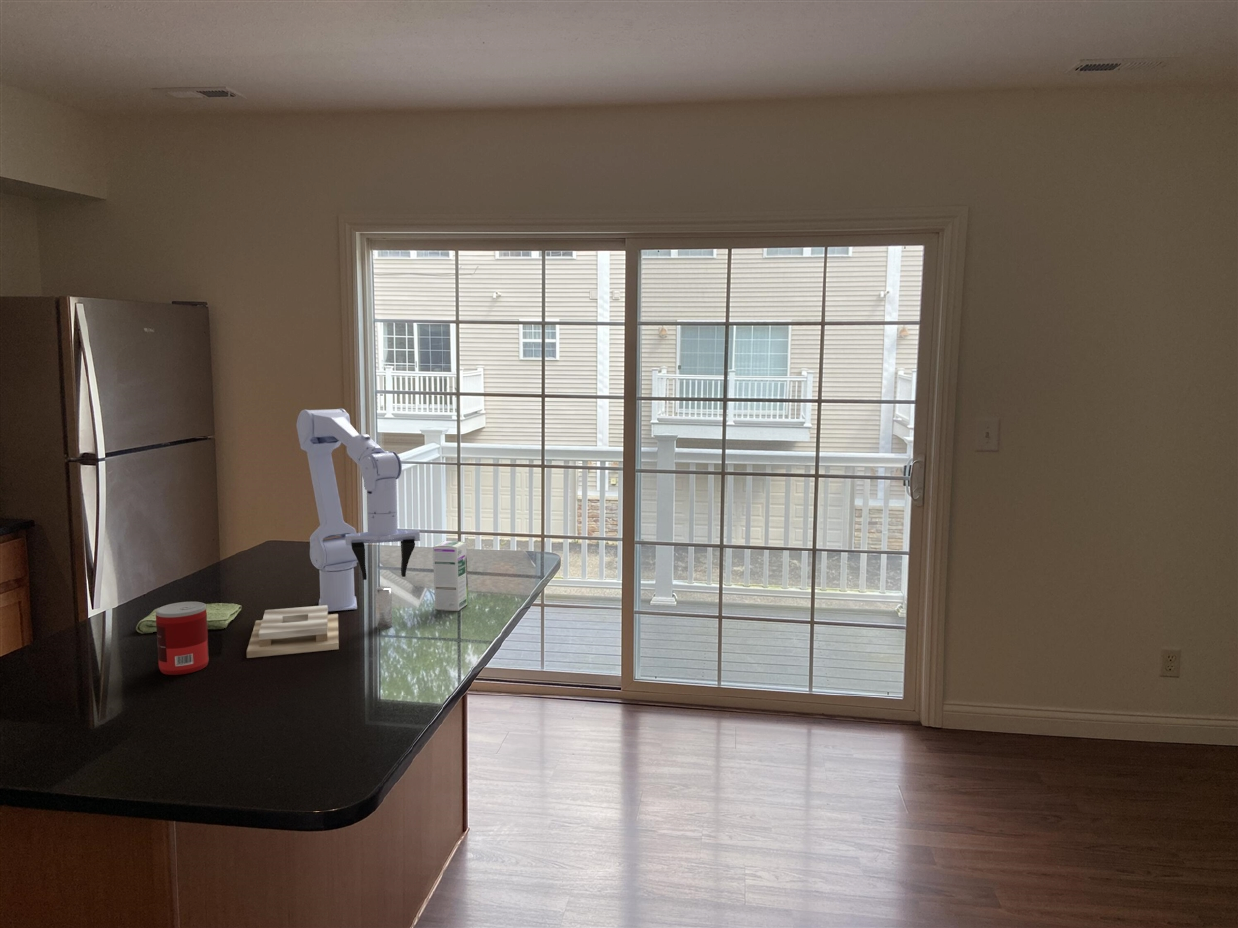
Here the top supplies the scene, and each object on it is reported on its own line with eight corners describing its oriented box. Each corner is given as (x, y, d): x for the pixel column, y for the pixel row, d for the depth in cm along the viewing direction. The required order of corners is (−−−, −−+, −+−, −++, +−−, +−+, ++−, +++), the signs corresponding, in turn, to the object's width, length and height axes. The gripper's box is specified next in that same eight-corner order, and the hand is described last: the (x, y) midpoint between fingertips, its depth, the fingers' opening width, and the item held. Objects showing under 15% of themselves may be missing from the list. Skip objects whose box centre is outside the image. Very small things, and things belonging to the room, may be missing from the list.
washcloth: (229, 631, 171) (228, 616, 171) (134, 637, 167) (133, 621, 167) (243, 613, 184) (242, 598, 183) (155, 618, 180) (154, 603, 180)
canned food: (218, 662, 152) (216, 603, 150) (182, 678, 144) (179, 615, 143) (185, 657, 154) (182, 599, 153) (148, 672, 147) (145, 611, 145)
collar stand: (256, 626, 173) (255, 608, 173) (338, 619, 178) (337, 601, 178) (246, 657, 154) (245, 637, 154) (338, 648, 159) (338, 629, 159)
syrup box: (458, 611, 184) (457, 546, 183) (433, 609, 185) (432, 545, 184) (468, 604, 190) (467, 541, 188) (444, 602, 191) (442, 540, 189)
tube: (375, 624, 174) (374, 587, 174) (391, 623, 175) (390, 585, 175) (376, 629, 171) (375, 591, 171) (392, 627, 172) (391, 589, 172)
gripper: (345, 516, 165) (347, 584, 166) (421, 513, 169) (422, 578, 171) (344, 511, 171) (346, 576, 173) (417, 507, 176) (418, 571, 178)
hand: (384, 577), depth 172 cm, fingers open, 7 cm apart
